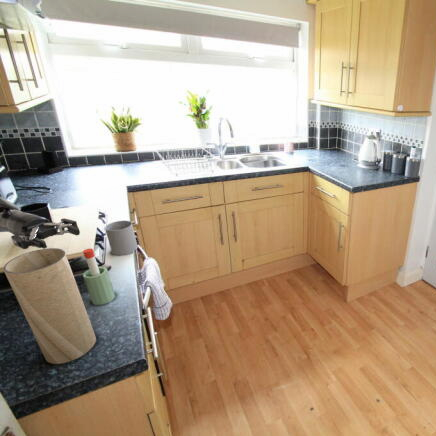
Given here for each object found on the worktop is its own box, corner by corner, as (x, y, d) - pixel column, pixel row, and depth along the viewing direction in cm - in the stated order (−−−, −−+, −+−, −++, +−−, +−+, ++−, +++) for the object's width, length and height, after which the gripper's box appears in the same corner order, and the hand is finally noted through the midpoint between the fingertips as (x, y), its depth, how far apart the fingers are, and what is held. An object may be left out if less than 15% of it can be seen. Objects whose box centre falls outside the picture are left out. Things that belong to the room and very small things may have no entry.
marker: (100, 300, 92) (85, 253, 86) (97, 297, 93) (81, 250, 87) (109, 296, 94) (94, 250, 87) (105, 293, 95) (90, 247, 88)
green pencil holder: (97, 307, 90) (88, 280, 86) (88, 300, 93) (79, 273, 89) (118, 297, 95) (110, 270, 91) (109, 290, 98) (101, 264, 94)
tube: (72, 329, 83) (38, 245, 72) (105, 335, 81) (77, 251, 71) (33, 360, 74) (-11, 270, 63) (70, 367, 73) (31, 276, 62)
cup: (138, 251, 118) (132, 227, 114) (112, 257, 114) (105, 232, 110) (136, 241, 125) (131, 218, 121) (112, 246, 121) (105, 223, 117)
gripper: (-7, 224, 89) (27, 237, 83) (51, 206, 101) (84, 217, 95) (4, 247, 92) (37, 261, 86) (58, 227, 104) (91, 239, 98)
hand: (61, 238), depth 91 cm, fingers open, 8 cm apart
